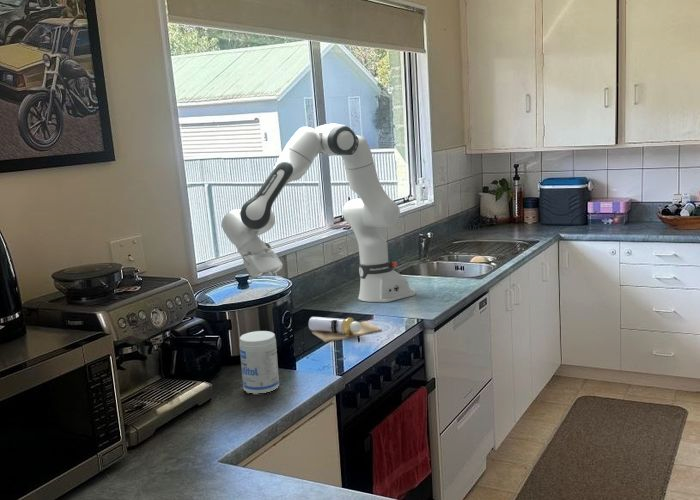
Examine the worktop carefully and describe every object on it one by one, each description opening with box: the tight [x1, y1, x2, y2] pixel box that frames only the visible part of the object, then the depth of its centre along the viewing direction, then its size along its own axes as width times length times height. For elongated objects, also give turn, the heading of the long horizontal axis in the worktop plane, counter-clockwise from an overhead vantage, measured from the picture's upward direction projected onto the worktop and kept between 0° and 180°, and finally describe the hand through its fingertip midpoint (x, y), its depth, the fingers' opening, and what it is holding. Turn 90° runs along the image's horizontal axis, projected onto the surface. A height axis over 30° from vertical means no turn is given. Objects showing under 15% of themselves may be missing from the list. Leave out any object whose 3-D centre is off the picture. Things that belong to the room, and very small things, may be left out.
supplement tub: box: [239, 330, 280, 395], centre depth 183 cm, size 10×10×15 cm
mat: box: [311, 320, 383, 343], centre depth 229 cm, size 20×12×1 cm, turn 114°
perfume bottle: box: [307, 316, 361, 336], centre depth 226 cm, size 6×6×20 cm
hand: (277, 282), depth 241 cm, fingers closed
